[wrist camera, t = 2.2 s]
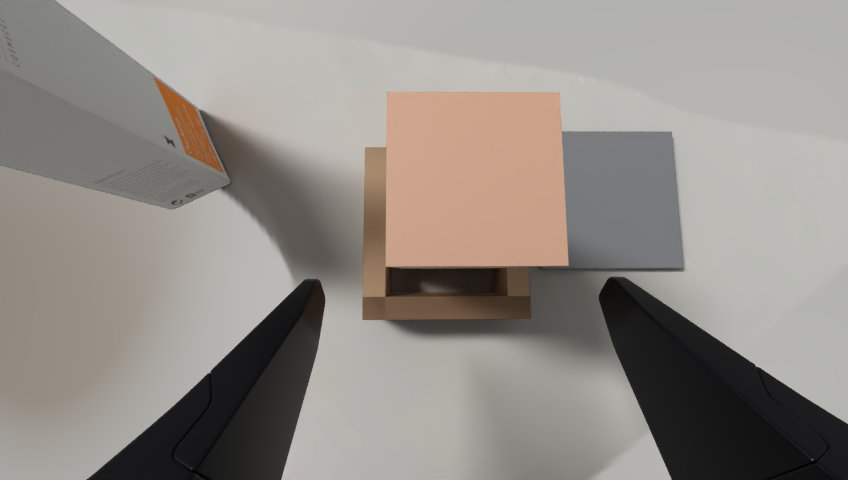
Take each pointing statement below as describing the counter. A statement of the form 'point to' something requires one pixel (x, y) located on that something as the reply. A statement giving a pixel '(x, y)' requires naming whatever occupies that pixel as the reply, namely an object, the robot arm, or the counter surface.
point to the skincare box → (96, 113)
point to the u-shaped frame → (385, 305)
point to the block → (474, 180)
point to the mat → (621, 200)
